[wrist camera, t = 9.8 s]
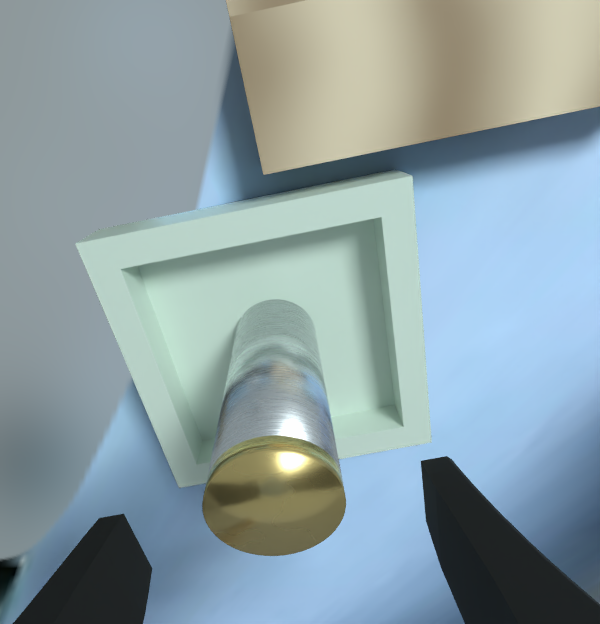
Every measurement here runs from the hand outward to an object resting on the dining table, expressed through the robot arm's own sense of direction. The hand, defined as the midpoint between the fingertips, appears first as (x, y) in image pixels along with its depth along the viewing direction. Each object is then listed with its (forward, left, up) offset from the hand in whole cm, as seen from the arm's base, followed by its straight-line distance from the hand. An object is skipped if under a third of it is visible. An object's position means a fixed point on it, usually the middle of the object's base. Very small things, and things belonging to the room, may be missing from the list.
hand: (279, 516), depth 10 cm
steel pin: (0, 0, -9) cm, 9 cm away
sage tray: (0, 0, -10) cm, 10 cm away
